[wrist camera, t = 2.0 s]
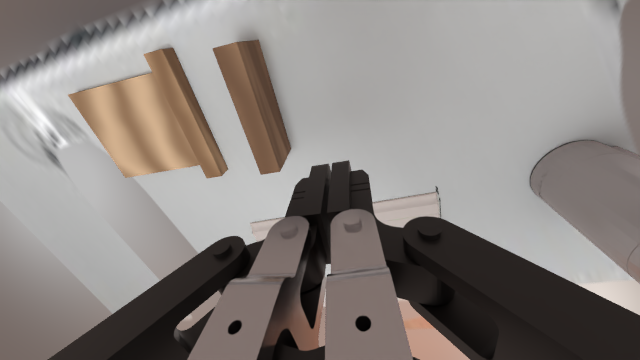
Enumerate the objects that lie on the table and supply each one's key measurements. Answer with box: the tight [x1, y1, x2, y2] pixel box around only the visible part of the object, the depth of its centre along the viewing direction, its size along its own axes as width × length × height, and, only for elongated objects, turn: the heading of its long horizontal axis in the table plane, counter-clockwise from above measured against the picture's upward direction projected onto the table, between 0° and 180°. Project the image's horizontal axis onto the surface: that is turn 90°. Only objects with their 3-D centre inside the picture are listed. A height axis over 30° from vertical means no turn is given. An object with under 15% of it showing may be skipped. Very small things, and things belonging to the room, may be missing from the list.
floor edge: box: [68, 48, 228, 178], centre depth 35 cm, size 16×17×2 cm
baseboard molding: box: [250, 187, 441, 242], centre depth 42 cm, size 31×3×12 cm
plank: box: [213, 40, 291, 174], centre depth 30 cm, size 2×14×7 cm, turn 12°
